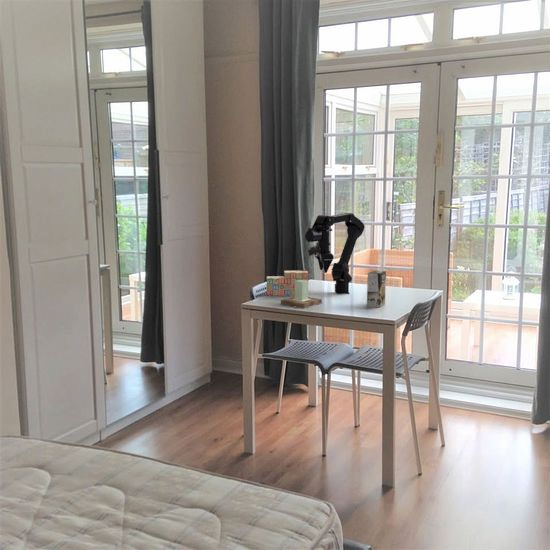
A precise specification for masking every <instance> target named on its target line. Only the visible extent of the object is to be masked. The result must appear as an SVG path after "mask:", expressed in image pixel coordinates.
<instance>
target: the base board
mask: <svg viewBox="0 0 550 550" xmlns="http://www.w3.org/2000/svg"><path fill="white" fill-rule="evenodd" d="M322 302H323V299H322V298H316V297H309V296H308V299H307V300H303V301H301V300H296V299H295V296H290V297H287V298H283V299H280V305H283V304H286V305H285V306H289V305H290V307H294V306H296V307H295V308H300V307H301V308H302V309H306V308H310V307H313V305H314V306H317V305H321V304H323V303H322ZM320 303H321V304H320ZM316 304H317V305H316ZM309 306H310V307H309ZM305 307H306V308H305Z"/></svg>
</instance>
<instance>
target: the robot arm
mask: <svg viewBox="0 0 550 550" xmlns="http://www.w3.org/2000/svg"><path fill="white" fill-rule="evenodd" d="M343 222H344V225H345V227H346V232H347V238H346V241H345V243H344V245H343V249H342V252H341V255H340V257H339V260H338V262H334V263H333V266H332V268H331V276H332V280H333V282H335V283H334V293H336V294H337V295H344V294H345V295H346V294H348V295H349V294H350V292H349V291H350V288H349V287H350V285H349V283H351V282H352V280H353V277H352V275H351V274H350V273H349V272H350V266H349V262H350V259H351V256H352V254H353V252H354V248H355V246H356V243H357V240H358V239H359V238H360V237H361V236H362V235H363V233H364V231H365V227H366V226H365V224H364V222H363V221H362V220H361V219H360V218H358V217H356V216H355V214H354V213H352V212H344V213H339V214H333V215H324V214H319V215H317V216H316V219H315V221H314V222H313V224H312V226H311V227H308V230H306V232H305V235H304V237H305V240H306V242H308V243H313V242H316V245H313V246H311V247H307V248H306V253H307V255H308V256H309V257H311V256H314V258H315V259H317V262H318V266H319V270H320V271H323V273H324V274H327V273H328V271H329V269H330V266H331V264H332V262H333V261H334V259H335V255H334V254H333V253H332V252H331V250H330V246H331V242H330V232H332V231H333V228H332V226H334V225H335V224H338V223H343Z"/></svg>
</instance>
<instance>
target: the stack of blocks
mask: <svg viewBox="0 0 550 550" xmlns="http://www.w3.org/2000/svg"><path fill="white" fill-rule="evenodd" d="M283 275H284V276H283ZM283 275H282V276H281V275H280V276H279V275H277V276H274V275H272V276H269V275H268V276H266V296H267V297H269V296H268V295H279V296H278V297H295V281H297V280H307V281H308V282H309V271H308V270H284V271H283Z"/></svg>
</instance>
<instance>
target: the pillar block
mask: <svg viewBox="0 0 550 550" xmlns="http://www.w3.org/2000/svg"><path fill="white" fill-rule="evenodd" d="M294 297H295V299H296V300H301V301H303V300H307V299H308V297H309V280H308V281H307V280H297V281H295V296H294Z"/></svg>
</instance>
